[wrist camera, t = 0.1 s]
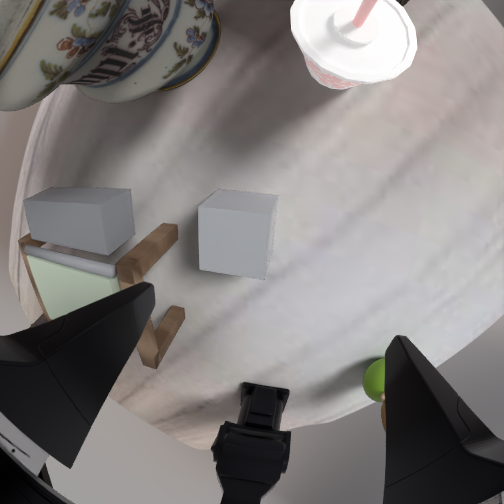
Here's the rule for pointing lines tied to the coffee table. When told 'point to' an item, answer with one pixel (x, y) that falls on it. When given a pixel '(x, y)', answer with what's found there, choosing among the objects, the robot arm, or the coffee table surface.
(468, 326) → the coffee table surface
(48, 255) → the trapdoor
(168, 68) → the apothecary jar
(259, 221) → the slate grey block
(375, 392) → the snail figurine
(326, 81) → the beverage cup
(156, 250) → the walnut frame
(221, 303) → the coffee table surface
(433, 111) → the coffee table surface
